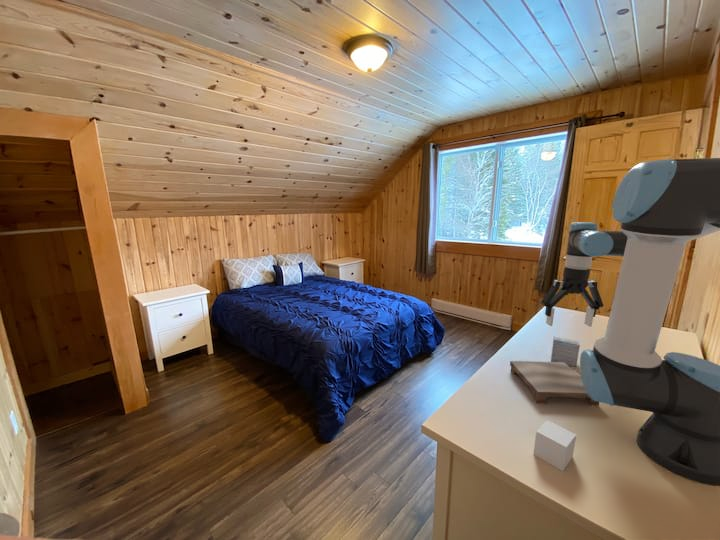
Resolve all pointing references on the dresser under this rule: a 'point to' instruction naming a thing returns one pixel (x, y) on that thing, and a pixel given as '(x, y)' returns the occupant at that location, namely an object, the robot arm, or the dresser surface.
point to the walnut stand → (551, 380)
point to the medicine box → (565, 351)
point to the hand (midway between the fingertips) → (568, 324)
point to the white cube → (554, 444)
